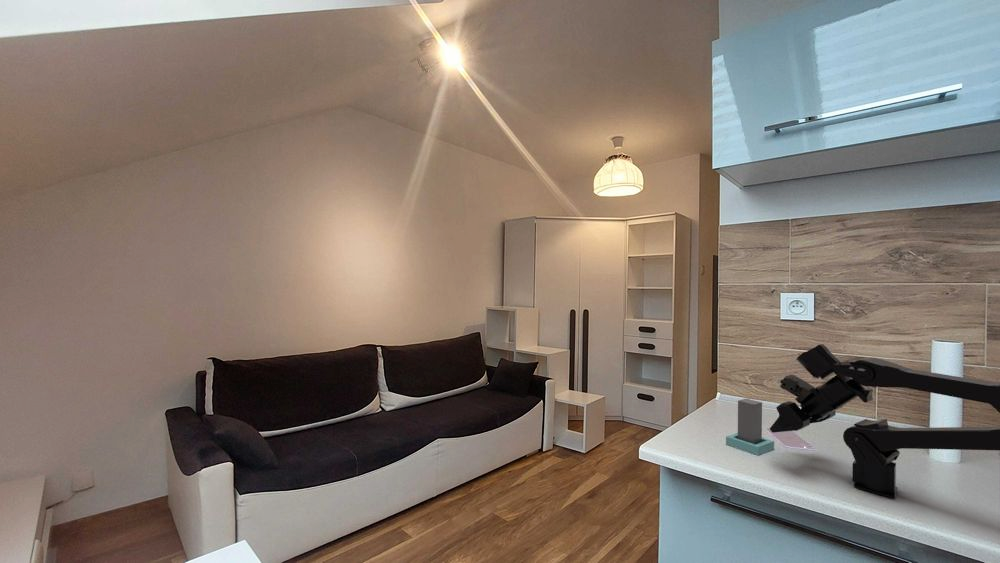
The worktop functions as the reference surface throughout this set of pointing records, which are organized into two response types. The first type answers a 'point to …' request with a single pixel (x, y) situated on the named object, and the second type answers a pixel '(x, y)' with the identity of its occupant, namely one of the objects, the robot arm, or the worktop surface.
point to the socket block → (750, 445)
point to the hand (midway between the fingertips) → (780, 427)
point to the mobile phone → (791, 440)
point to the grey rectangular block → (750, 421)
